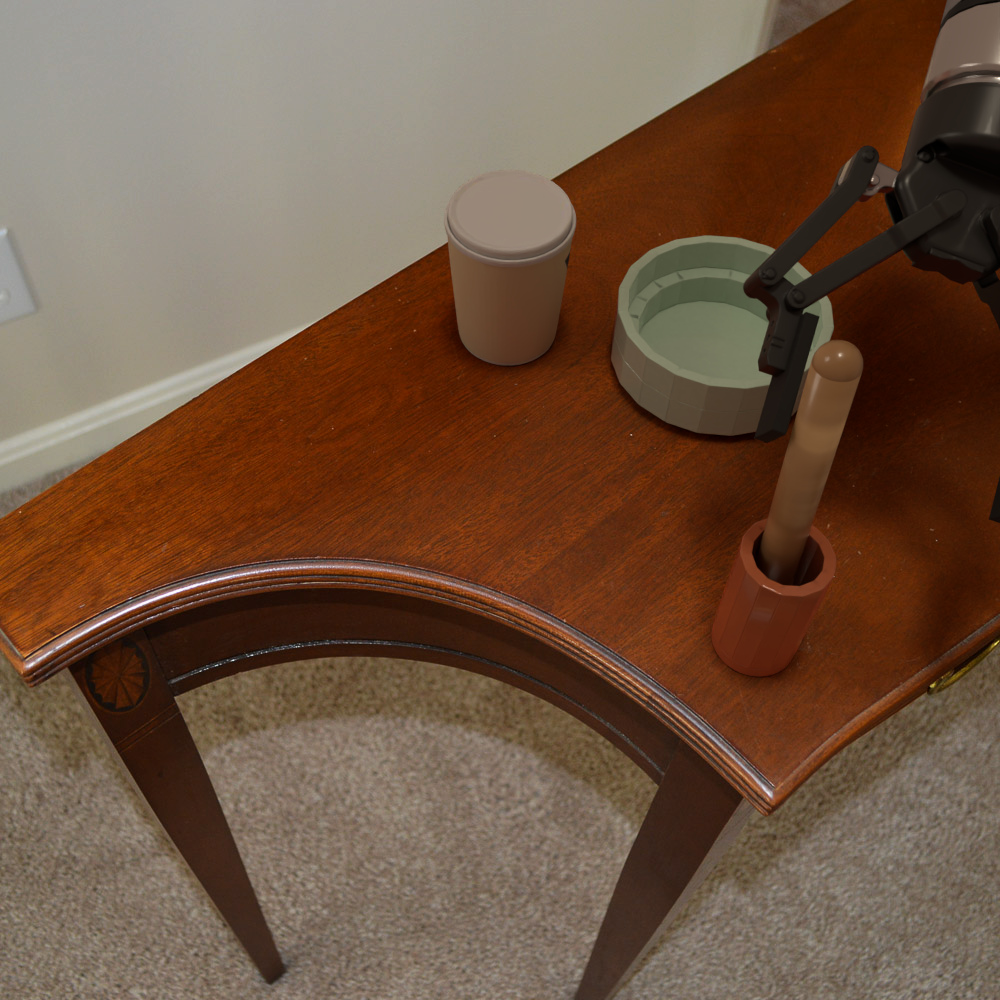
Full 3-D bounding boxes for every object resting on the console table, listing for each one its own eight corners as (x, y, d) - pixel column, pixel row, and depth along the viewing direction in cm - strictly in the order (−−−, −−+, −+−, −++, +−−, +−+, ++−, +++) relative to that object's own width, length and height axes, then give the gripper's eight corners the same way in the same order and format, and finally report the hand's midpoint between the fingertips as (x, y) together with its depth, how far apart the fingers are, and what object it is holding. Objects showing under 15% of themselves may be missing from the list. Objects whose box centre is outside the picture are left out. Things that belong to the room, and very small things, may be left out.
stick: (782, 630, 70) (878, 344, 51) (762, 654, 68) (852, 370, 50) (750, 610, 71) (833, 322, 52) (729, 633, 69) (807, 347, 51)
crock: (811, 635, 71) (854, 551, 62) (764, 693, 68) (802, 614, 60) (742, 587, 73) (775, 500, 64) (693, 642, 70) (721, 558, 62)
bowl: (851, 358, 85) (873, 302, 80) (737, 477, 78) (754, 423, 73) (688, 265, 91) (700, 208, 86) (569, 368, 84) (574, 311, 79)
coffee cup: (590, 342, 86) (603, 221, 76) (491, 392, 82) (492, 272, 73) (521, 273, 90) (526, 151, 80) (425, 318, 87) (418, 196, 77)
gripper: (1145, 216, 65) (1063, 557, 61) (753, 71, 63) (649, 415, 60) (1245, 163, 57) (1157, 547, 54) (804, -3, 55) (687, 385, 52)
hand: (890, 479), depth 57 cm, fingers open, 13 cm apart
